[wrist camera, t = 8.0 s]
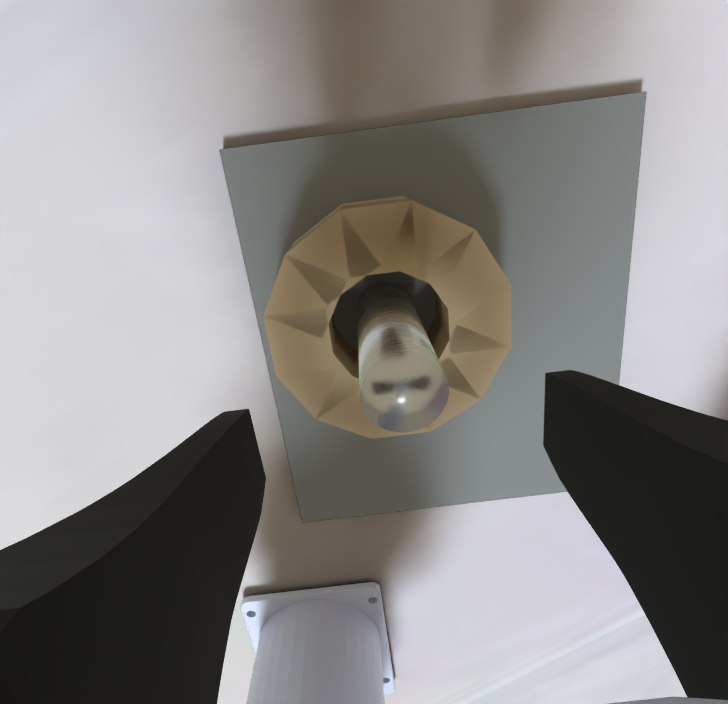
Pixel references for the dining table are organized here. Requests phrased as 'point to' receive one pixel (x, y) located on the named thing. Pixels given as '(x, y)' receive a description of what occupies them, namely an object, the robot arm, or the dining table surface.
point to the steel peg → (397, 362)
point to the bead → (375, 256)
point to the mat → (504, 241)
